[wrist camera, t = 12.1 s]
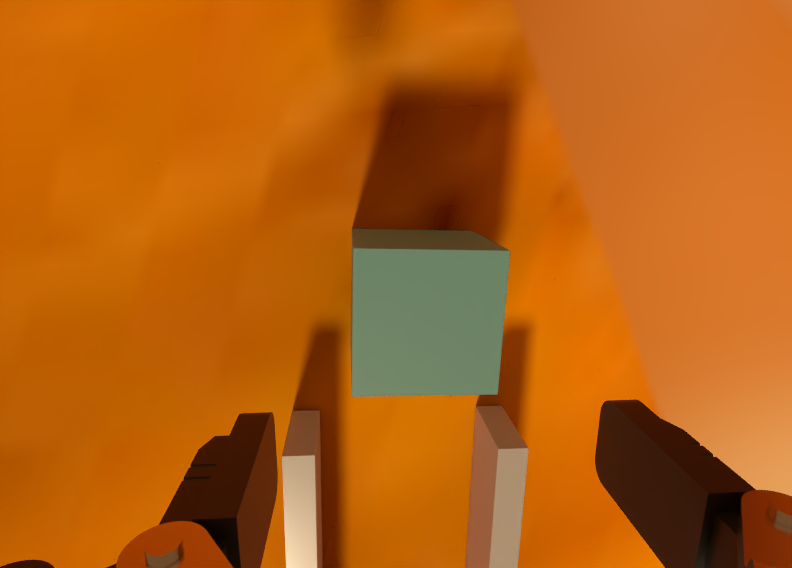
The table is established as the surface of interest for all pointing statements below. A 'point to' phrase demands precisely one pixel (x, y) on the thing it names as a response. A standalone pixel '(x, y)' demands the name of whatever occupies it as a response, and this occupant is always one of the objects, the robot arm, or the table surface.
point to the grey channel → (489, 496)
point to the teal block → (426, 312)
